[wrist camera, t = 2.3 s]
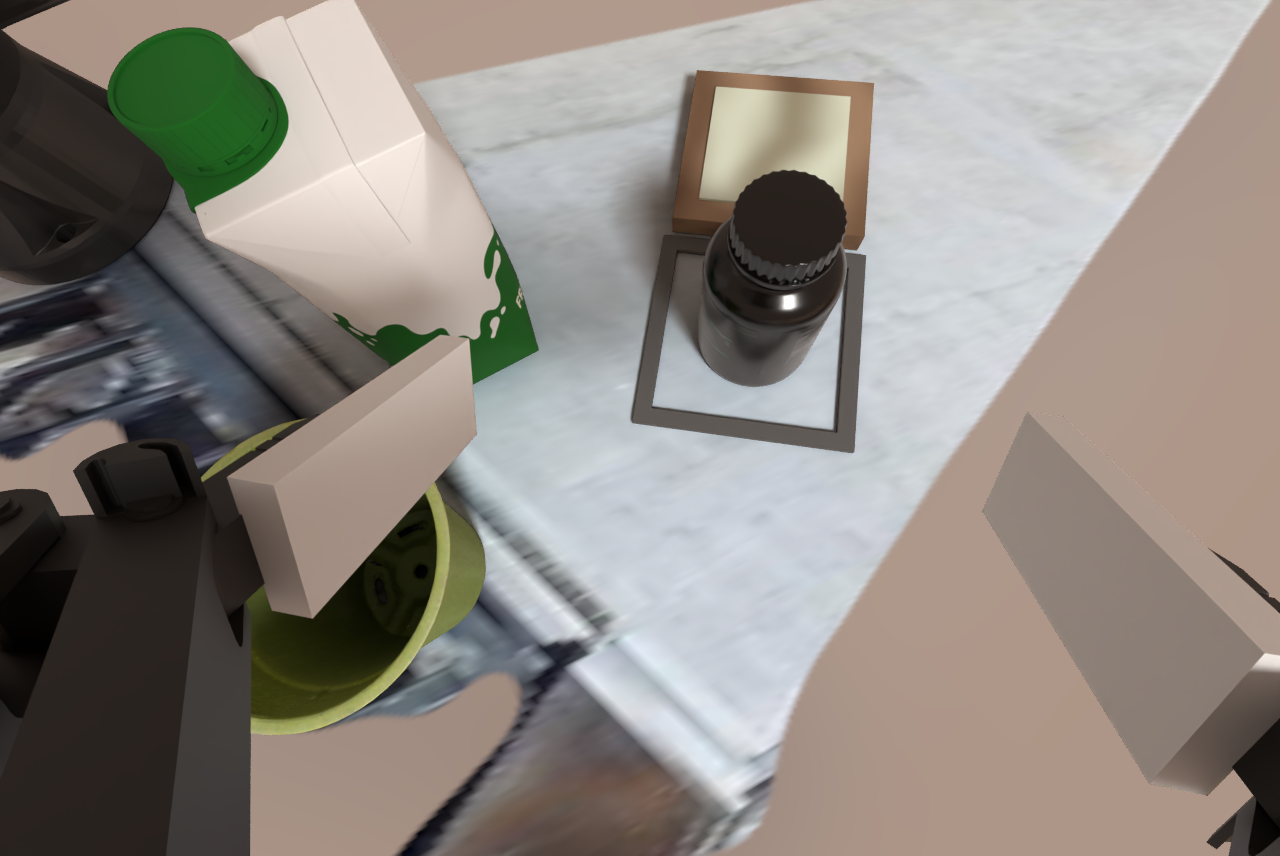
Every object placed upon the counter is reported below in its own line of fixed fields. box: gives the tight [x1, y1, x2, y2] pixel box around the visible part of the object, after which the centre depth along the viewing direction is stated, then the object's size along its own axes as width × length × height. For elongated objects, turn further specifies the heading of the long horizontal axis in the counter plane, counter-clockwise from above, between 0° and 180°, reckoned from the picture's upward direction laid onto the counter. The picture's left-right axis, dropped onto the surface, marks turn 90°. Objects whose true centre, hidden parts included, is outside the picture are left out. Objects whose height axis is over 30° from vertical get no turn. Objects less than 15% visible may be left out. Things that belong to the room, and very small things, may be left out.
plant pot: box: [201, 418, 486, 735], centre depth 27 cm, size 12×12×11 cm
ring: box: [632, 235, 866, 453], centre depth 35 cm, size 13×13×1 cm
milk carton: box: [107, 0, 539, 384], centre depth 27 cm, size 9×9×20 cm
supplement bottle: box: [698, 170, 847, 387], centre depth 29 cm, size 7×7×12 cm
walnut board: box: [672, 70, 874, 250], centre depth 38 cm, size 12×12×2 cm
